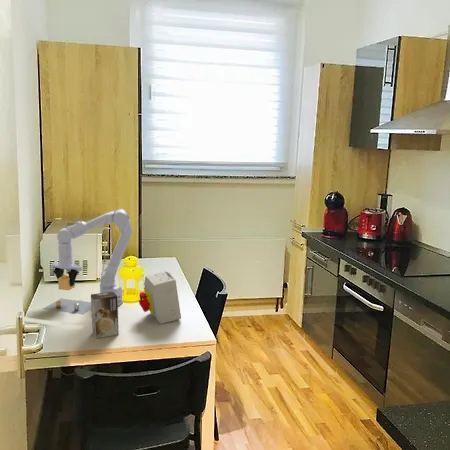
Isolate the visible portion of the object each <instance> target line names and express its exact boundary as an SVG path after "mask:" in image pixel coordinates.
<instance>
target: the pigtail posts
mask: <svg viewBox="0 0 450 450" xmlns="http://www.w3.org/2000/svg"><path fill="white" fill-rule="evenodd" d="M55 302H56V309H60V308H61V301H58V300H56V301H55ZM74 311H79V303H75V304H74Z"/></svg>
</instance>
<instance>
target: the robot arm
mask: <svg viewBox="0 0 450 450" xmlns="http://www.w3.org/2000/svg"><path fill="white" fill-rule="evenodd" d="M103 224H108V225H113V224H114V225H115V226H116V227H117V228H118V230H119V232H120V234H119V238H118V240H117V242H116V245H115V247H114V249H113V251H112V254H111V256H110V259H109V261H108V263H107V265H106V267H105V269H104V270H102V272H100V273H101V274H100V279H99V280H100V282H99V283H100V284H99V293H106V292H114V293H115V294H116V295H117V301H118V307H119V306H120V305H122V304H123V303H124V301H123V289H122V286H118V285H117V283H116V280H115V278H116V275H117V272H118V269H119V266H120V263H121V262H122V259H123V257H124V254H125V252H126V249H127V247H128V245H129V242H130V240H131V237H132V236H133V228H132V224H131V219H130V216H129V214H128V212H127V211H126V210H125V209H123V208H118V209H115V210H111V211H108V212H106V213H104V214H102V215H100V216H97V217H95V218H93V219H90V220H89V221H87V222H86V221H80V220H78V221H76V222H75V223H74V224H73V225H72V224H71V225H70V226H69V225H67V226H66V227H65V228H63V227H62V228H61V229H60V230H59V231H58V233H57V235H56V236H57V237H56V239H57V240H58V246H57V247H58V248H57V249H58V263H57V262H54V263H53V262H52V263H50V269H54V270H52V272H53V274H54V275H55V277H56V279H57V280H58V278H60V277H62V275H64V274H65V270H66V271H67V274H68V275H69V279H70V286H74V283H76V278H77V276H78V274H79V273H80V272H81V271H83V270H82V267H83V266H81V265H78V264H73V245H72V239H76V238H79V237H81V236H84V235H86V234H88V233H89V230H90V229H93V228H96V227H99V226H101V225H103Z"/></svg>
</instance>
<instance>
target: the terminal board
mask: <svg viewBox="0 0 450 450" xmlns="http://www.w3.org/2000/svg"><path fill="white" fill-rule="evenodd" d="M57 301H61V308H60V309H56V301H54V302H52V303H51V304H49V305H47V306H45V307H43V308H42V310H49V311H56V312H62V313H71V314H77V315H85V314H86V313H88V312H90V311H91V301H84V300H76V299H67V298H59V299H58V300H57ZM75 303H79V311H74V304H75Z"/></svg>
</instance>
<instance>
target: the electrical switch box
mask: <svg viewBox="0 0 450 450" xmlns="http://www.w3.org/2000/svg"><path fill="white" fill-rule="evenodd" d="M143 286H144V287H143V291H142V292H139V300H138V303H139V306H140V307H141V308H142V311H143V312H144V313H147V312H150V313H151V315H152V316H153V317H154V318H155V320H156V321H157V322H158V323H159V324H160V325H162V324H166V323H170V322H175V321H177V320H181V319H182V314H181V308H180V307H181V306H180V301H179V294H178V293H179V292H178V286H177V280H176V278H175V277H174V276H173V274H172V273H171V271H167V270H164V271H159V272H155V273H151V274H148V275H145V277H144V282H143Z"/></svg>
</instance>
